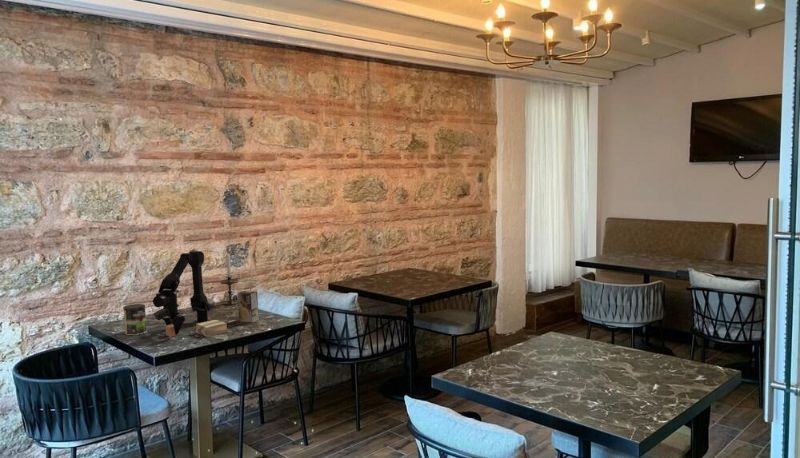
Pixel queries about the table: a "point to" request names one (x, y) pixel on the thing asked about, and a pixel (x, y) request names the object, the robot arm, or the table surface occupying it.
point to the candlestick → (229, 283)
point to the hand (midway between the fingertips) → (172, 332)
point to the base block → (211, 328)
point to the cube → (171, 331)
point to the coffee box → (248, 306)
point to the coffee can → (135, 319)
